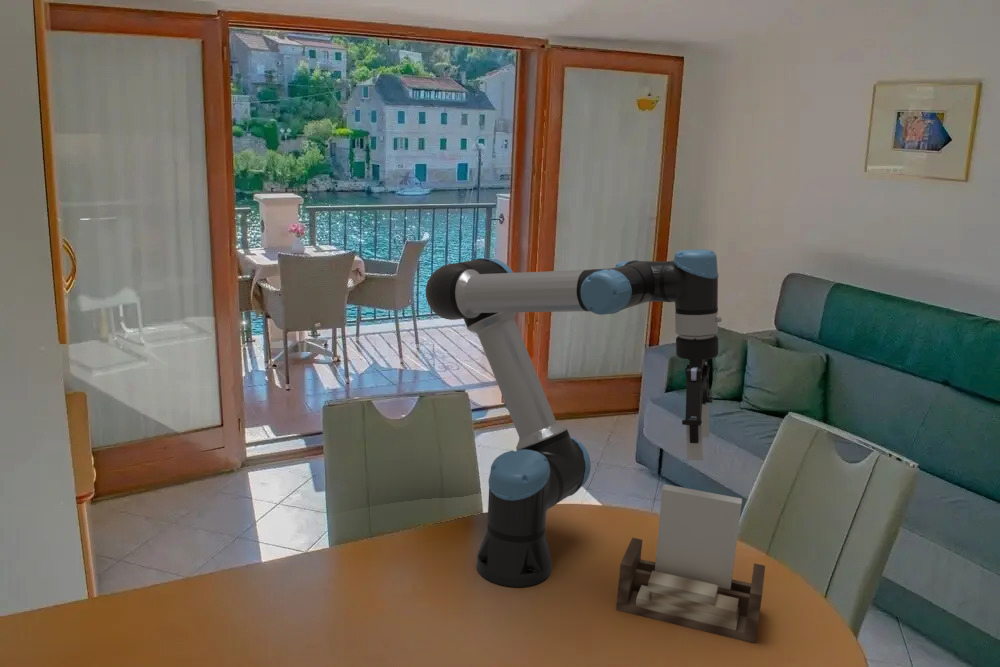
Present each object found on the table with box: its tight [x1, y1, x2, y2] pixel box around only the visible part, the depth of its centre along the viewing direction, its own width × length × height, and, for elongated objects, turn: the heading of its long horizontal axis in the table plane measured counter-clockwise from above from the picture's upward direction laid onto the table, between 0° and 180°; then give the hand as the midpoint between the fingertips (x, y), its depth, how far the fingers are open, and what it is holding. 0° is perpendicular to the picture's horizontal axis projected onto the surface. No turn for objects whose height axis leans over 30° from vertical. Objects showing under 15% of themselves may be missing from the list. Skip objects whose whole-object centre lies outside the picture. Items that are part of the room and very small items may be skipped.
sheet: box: [654, 483, 743, 590], centre depth 152 cm, size 14×2×22 cm, turn 70°
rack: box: [615, 537, 766, 644], centre depth 153 cm, size 25×11×10 cm, turn 70°
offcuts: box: [636, 571, 739, 630], centre depth 150 cm, size 18×5×5 cm, turn 70°
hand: (698, 447), depth 153 cm, fingers open, 13 cm apart
